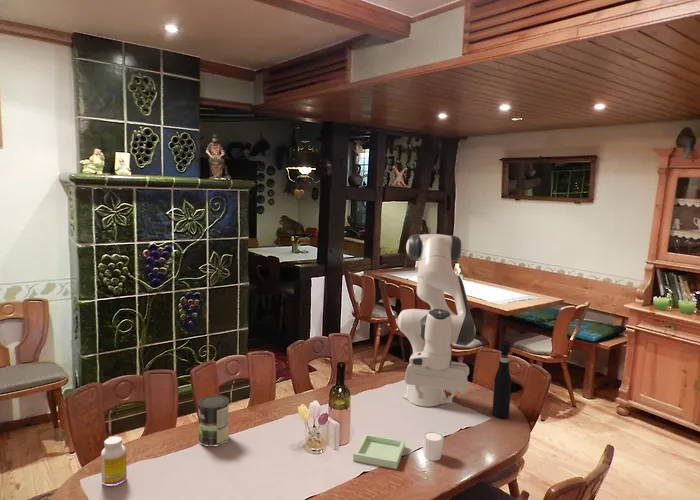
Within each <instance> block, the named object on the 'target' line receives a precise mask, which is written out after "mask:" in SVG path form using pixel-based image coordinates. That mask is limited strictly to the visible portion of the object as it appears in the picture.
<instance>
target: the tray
mask: <svg viewBox="0 0 700 500" xmlns="http://www.w3.org/2000/svg"><path fill="white" fill-rule="evenodd" d="M405 448H406V440H405V439H397V438H393V437H386V436H382V435H375V434H371V433H364V434H363V436H362V438H361V440H360V442H359V443H358V445H357V447H356V448H355V450H354V452H353V462H356V461H357V463H362V464H368V465H372V466H377V467H382V468H383V467H384V468H389V469H394V470H397V469H398V467H399V464H400V462H401V458H402V457H403V453H404V451H405Z"/></svg>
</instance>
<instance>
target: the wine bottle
mask: <svg viewBox="0 0 700 500" xmlns="http://www.w3.org/2000/svg"><path fill="white" fill-rule="evenodd" d="M499 351H500V352H501V354H500V357H499V361H498V368H497V370H496V373H495V376H494V379H493V381H494V384H493V396H492V397H493V399H492V416H493V417H494V418H496V419H500V420H505V419H509V417H510V403H511V391H512V378H511V372H510V369H509V368H510V362H509V359H510V357H509V352H511V342H510V341H504V340H503V341H500V344H499Z"/></svg>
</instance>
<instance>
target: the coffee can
mask: <svg viewBox="0 0 700 500" xmlns="http://www.w3.org/2000/svg"><path fill="white" fill-rule="evenodd" d="M229 402H230V399H229V397H227V396H225V395H219V394H218V395H217V394H213V395H212V394H211V395H207V396H203V397H202V398H200V399H199V400H198V402H197V405H198V406H197V407H198V443H199V445H201V444H203V445H208V446H214V445H220V444H222V445H224V444H226V443H227V442H228V441H229V439H228V438H229V412H230V410H229V405H230V404H229ZM227 440H228V441H227ZM226 441H227V442H226ZM225 442H226V443H225ZM223 443H224V444H223ZM220 446H221V445H220Z"/></svg>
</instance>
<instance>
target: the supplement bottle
mask: <svg viewBox="0 0 700 500" xmlns="http://www.w3.org/2000/svg"><path fill="white" fill-rule="evenodd" d="M103 443H104V444H103V445H104V448H103V449H102V450H101V453H100V460H101V461H100V465H101V469H100V470H101V483H102V482H103V483H104V484H117V483H120V482H122V481H124V480H125V479H126V480H127V478H126V477H128V476H127V473H128V472H127V449H126V446H125V445H123V438H122V437H121V436H110V437H108V438H106V439H105V440H104V442H103ZM126 480H125V481H126ZM125 481H124V482H125Z"/></svg>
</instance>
